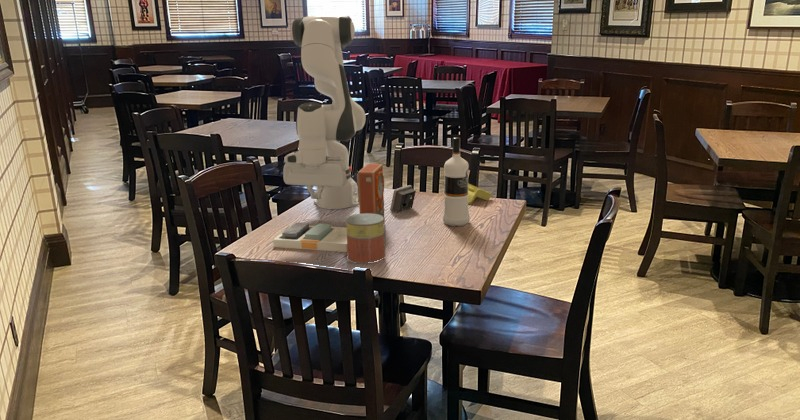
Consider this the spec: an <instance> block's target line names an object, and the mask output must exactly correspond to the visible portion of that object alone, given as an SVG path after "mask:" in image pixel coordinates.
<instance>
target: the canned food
mask: <svg viewBox="0 0 800 420" xmlns="http://www.w3.org/2000/svg"><path fill="white" fill-rule="evenodd" d="M384 217H385V216H384ZM384 217H383V216H382V215H379V214H374V213H361V214H360V213H356V214H351V215H349V216H347V217H345V225H346V227H345V228H347V247H348V251H347V252H348V253H347V260H348V261H350V262H352V263H354V262H356V263H355V264H360V263H368V262H374V261H377V260H380V259H382V258H384V257H385V258H386V250H385V249H386V248H385V243H386V241H385V221H384ZM385 258H384V259H385ZM368 264H369V263H368Z"/></svg>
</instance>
